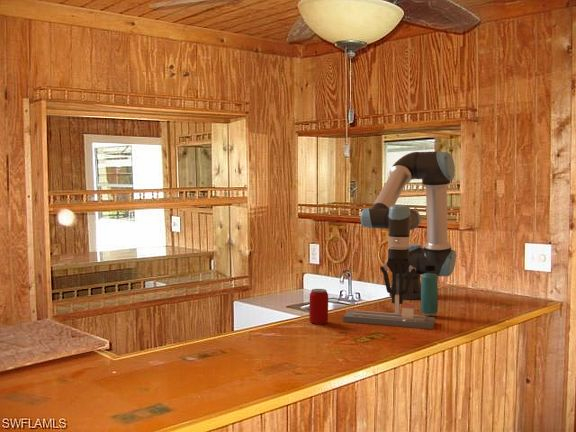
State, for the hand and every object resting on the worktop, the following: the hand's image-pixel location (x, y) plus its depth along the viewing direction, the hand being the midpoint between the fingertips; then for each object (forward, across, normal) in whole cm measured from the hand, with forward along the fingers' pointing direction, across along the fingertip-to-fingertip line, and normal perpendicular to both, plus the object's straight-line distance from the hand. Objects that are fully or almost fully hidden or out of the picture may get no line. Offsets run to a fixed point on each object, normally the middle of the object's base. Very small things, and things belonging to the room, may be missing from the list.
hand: (397, 312), depth 223 cm
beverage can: (+4, -27, -10) cm, 29 cm away
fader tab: (+2, +4, 0) cm, 4 cm away
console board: (+4, -3, 0) cm, 5 cm away
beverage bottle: (+4, +10, +15) cm, 19 cm away
